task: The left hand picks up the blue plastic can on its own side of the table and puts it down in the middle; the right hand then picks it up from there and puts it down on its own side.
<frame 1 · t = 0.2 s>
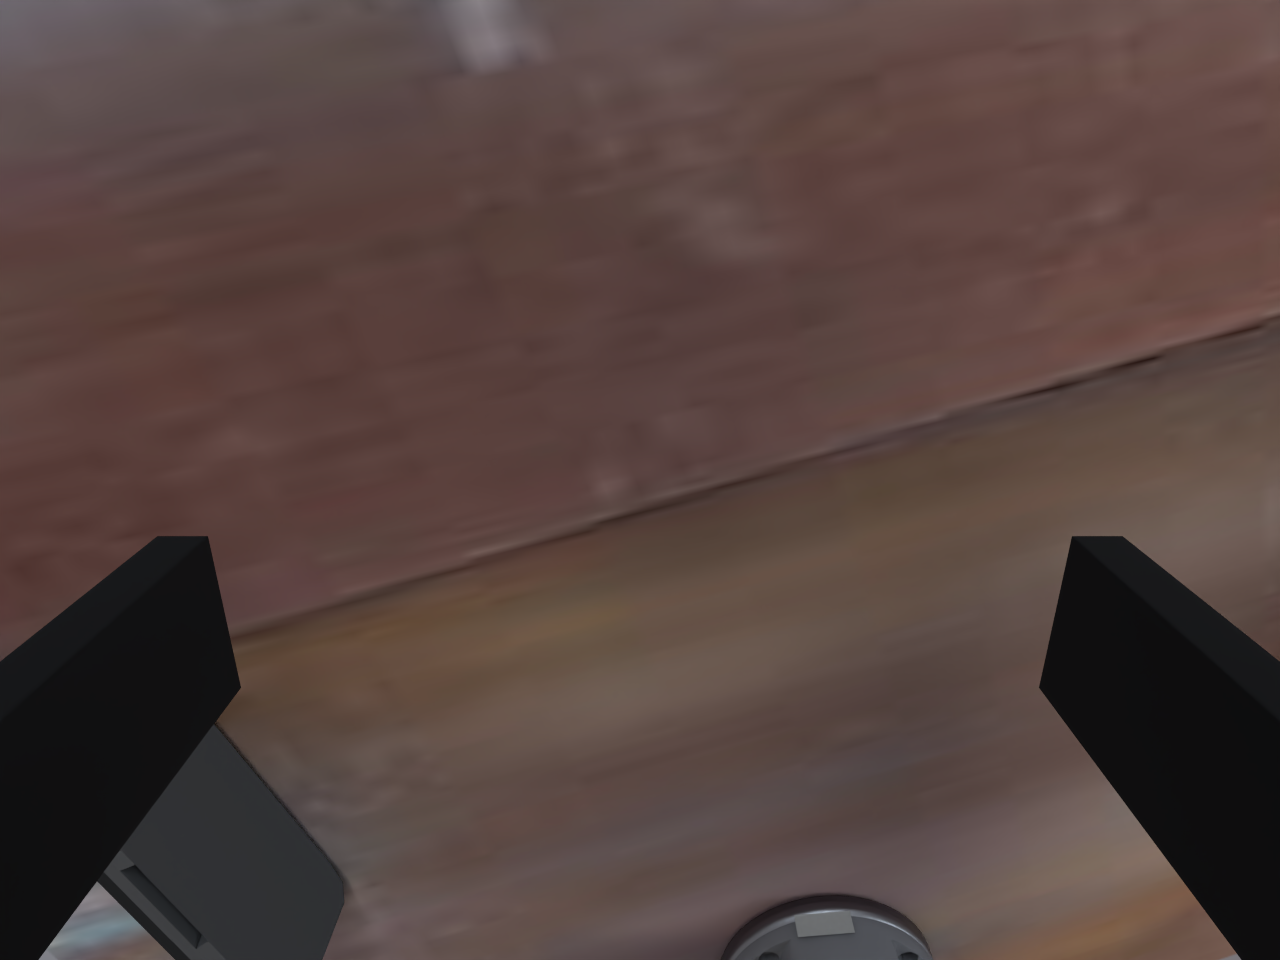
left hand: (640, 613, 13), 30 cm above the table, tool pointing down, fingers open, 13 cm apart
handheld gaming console: (238, 774, 52), on the table
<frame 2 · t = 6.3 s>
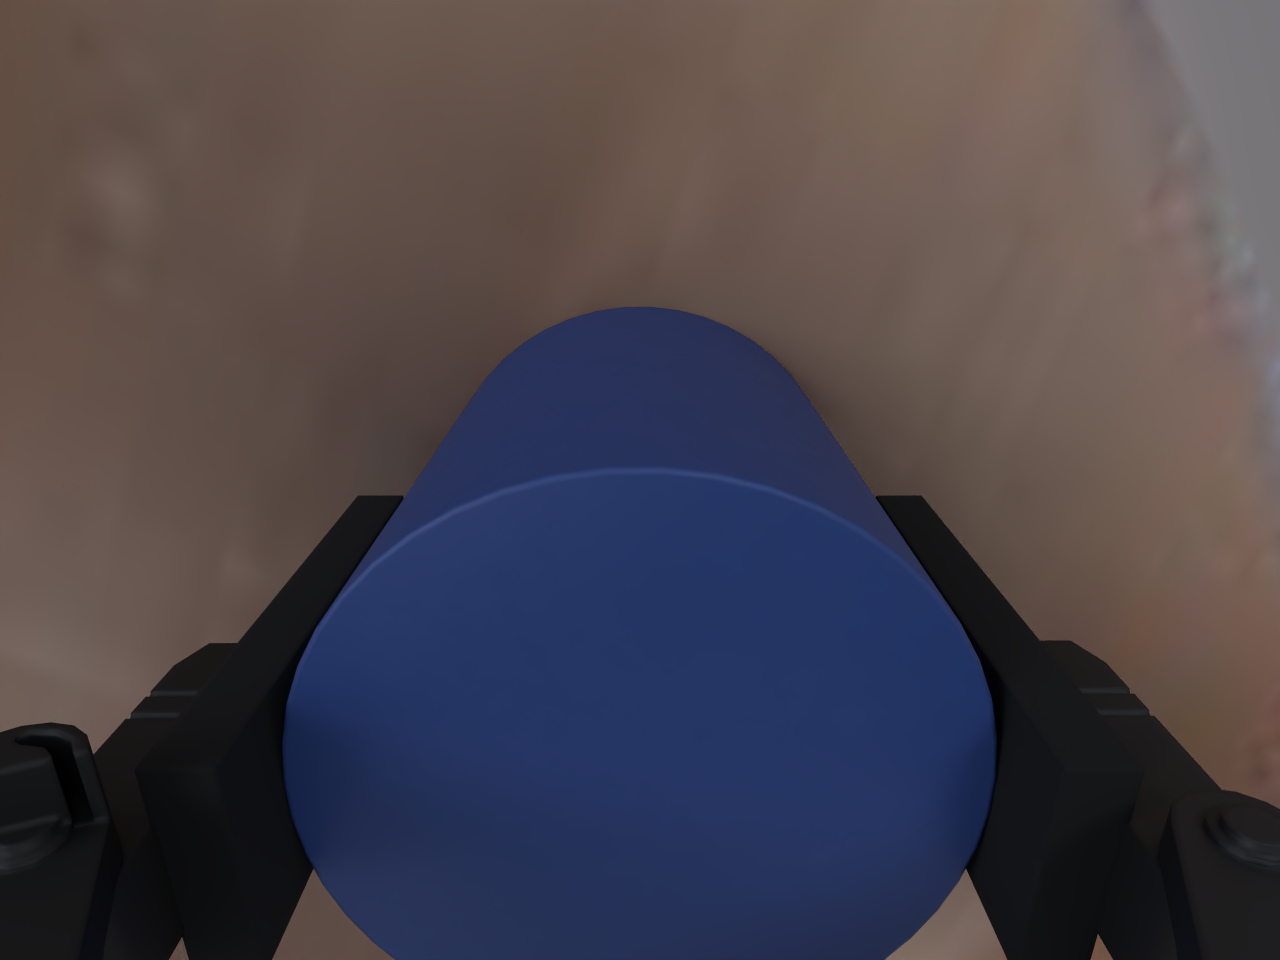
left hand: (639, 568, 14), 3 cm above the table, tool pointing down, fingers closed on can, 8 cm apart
can: (639, 497, 17), on the table, touching left hand
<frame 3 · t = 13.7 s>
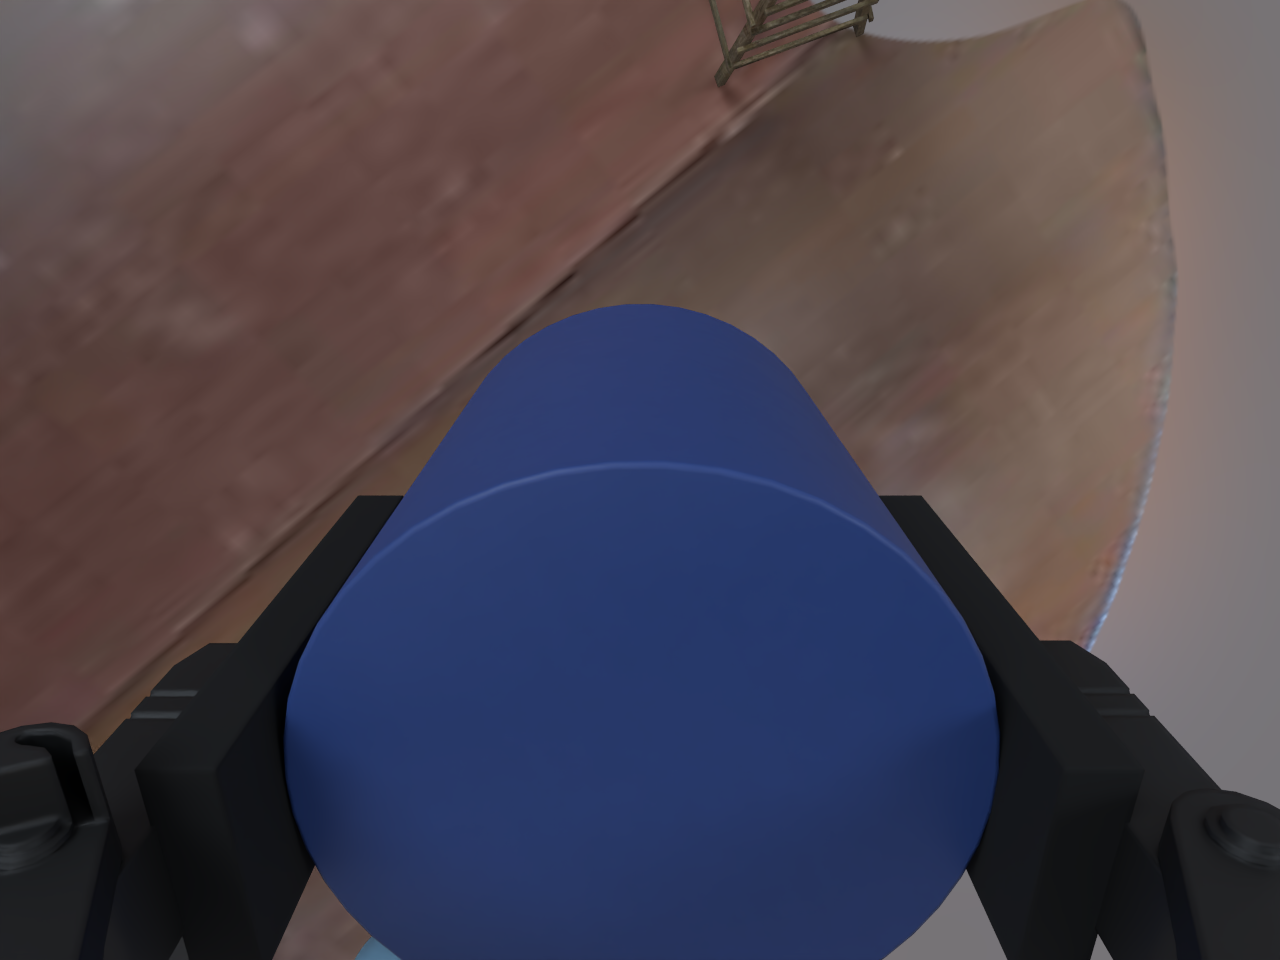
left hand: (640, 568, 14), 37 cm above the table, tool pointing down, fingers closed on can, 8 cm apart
can: (640, 494, 17), point 34 cm above the table, touching left hand
when the left hand's fingers open (5 cm above the table, at t = 21.3 s): can drops 1 cm, on the table.
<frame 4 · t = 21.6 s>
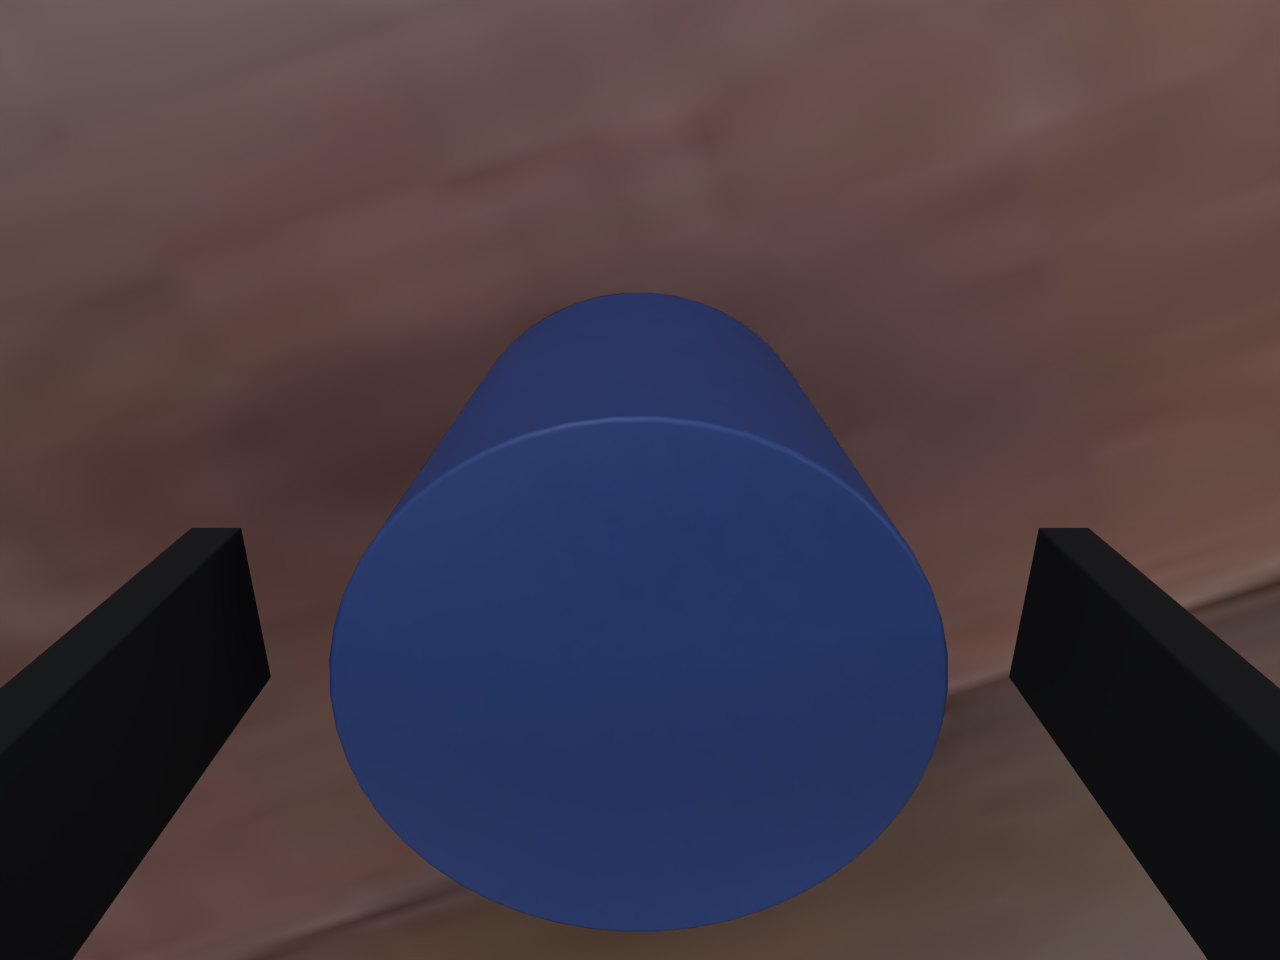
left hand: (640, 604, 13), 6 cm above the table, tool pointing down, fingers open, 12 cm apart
can: (639, 469, 18), on the table
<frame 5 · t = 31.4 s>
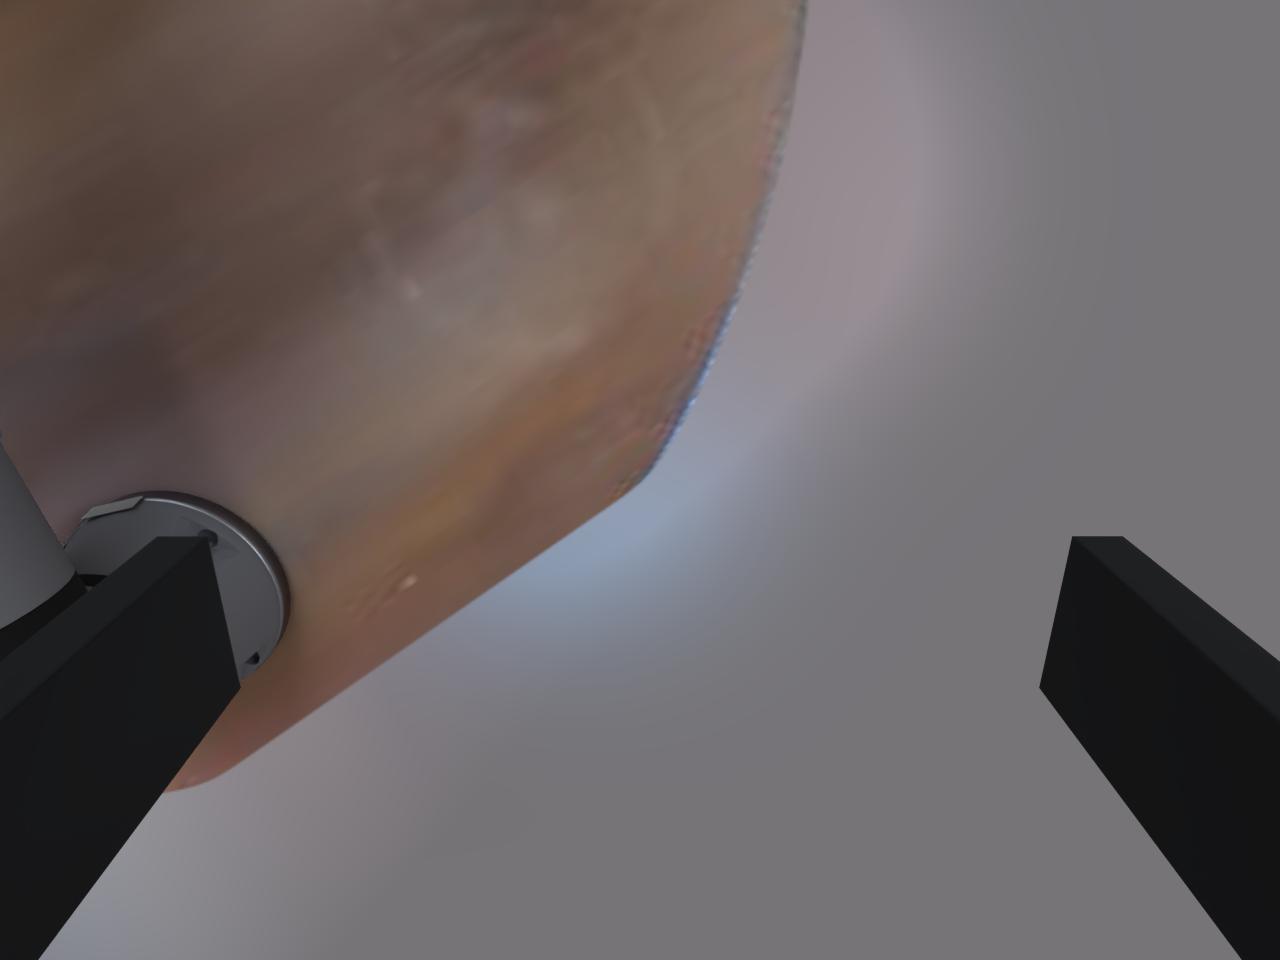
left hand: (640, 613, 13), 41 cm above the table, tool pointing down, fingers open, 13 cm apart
when the right hand's fingers open (5 cm above the table, at t = 49.5 s): can drops 1 cm, on the table.
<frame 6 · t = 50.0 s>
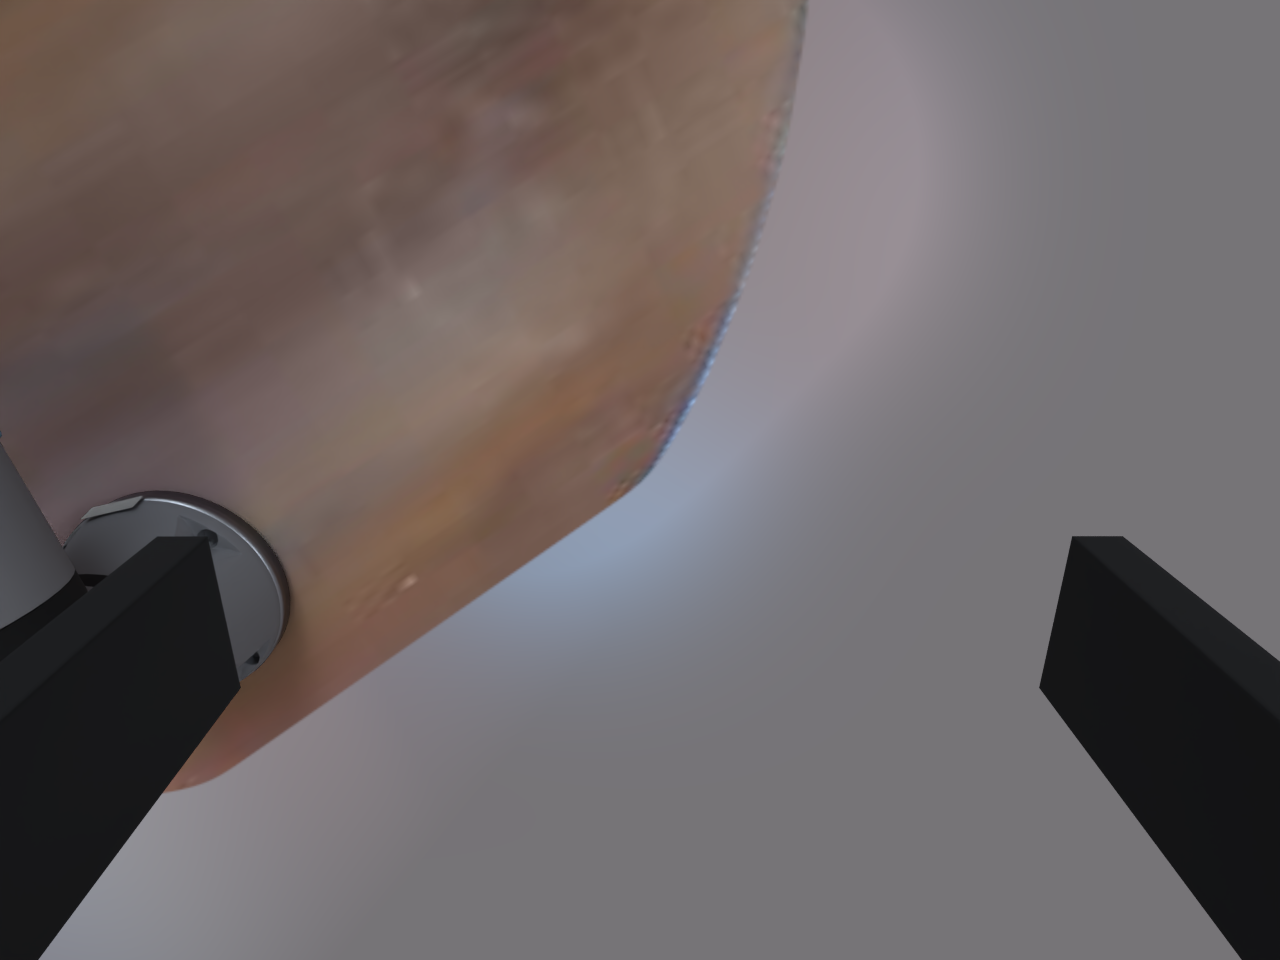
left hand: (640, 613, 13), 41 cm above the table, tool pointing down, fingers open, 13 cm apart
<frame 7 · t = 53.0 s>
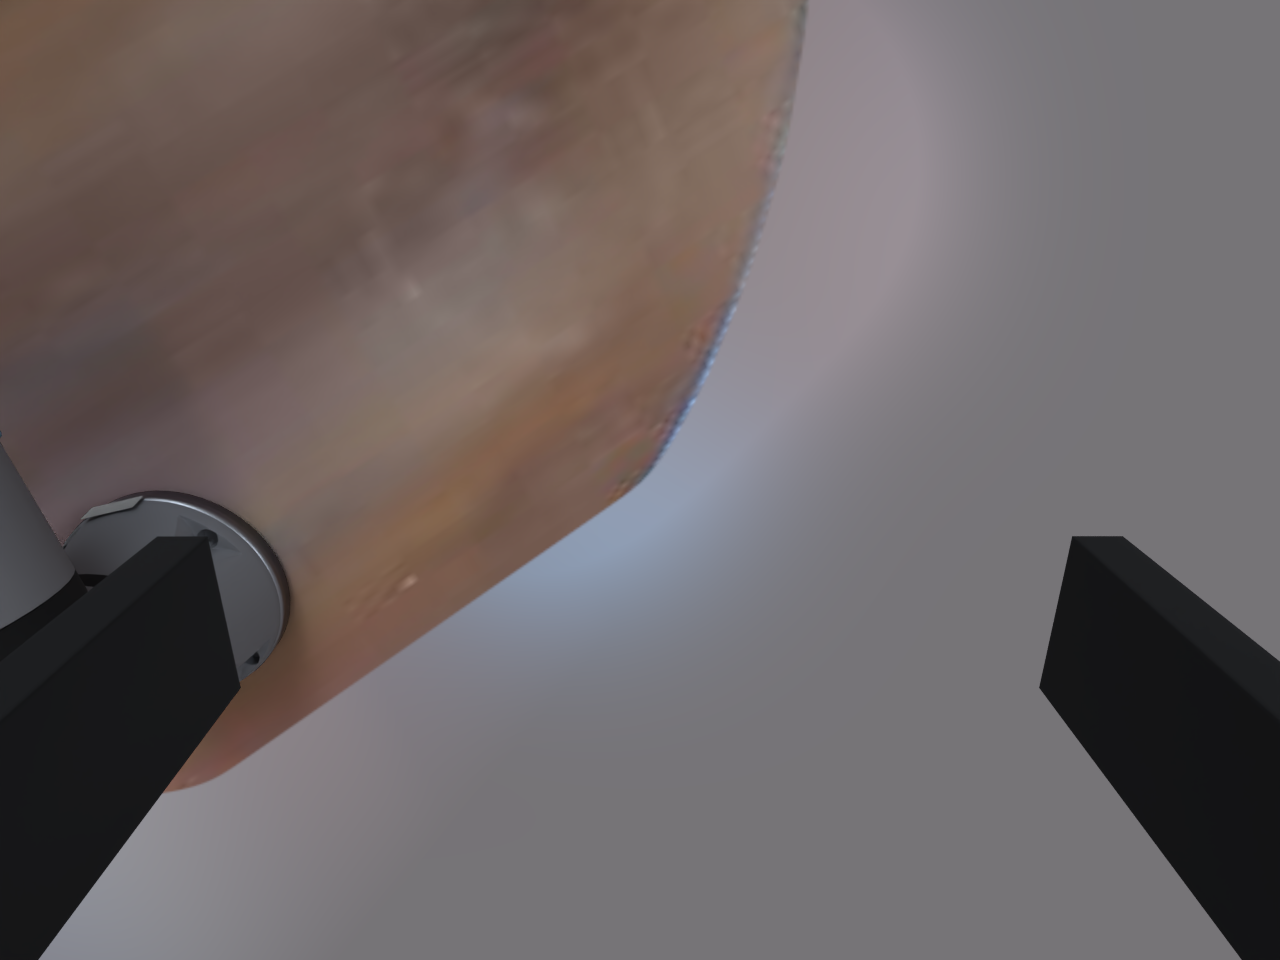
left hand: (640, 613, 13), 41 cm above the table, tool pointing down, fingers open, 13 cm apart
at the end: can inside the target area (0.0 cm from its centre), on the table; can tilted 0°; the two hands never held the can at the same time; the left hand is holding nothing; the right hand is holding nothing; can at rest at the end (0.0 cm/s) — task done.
